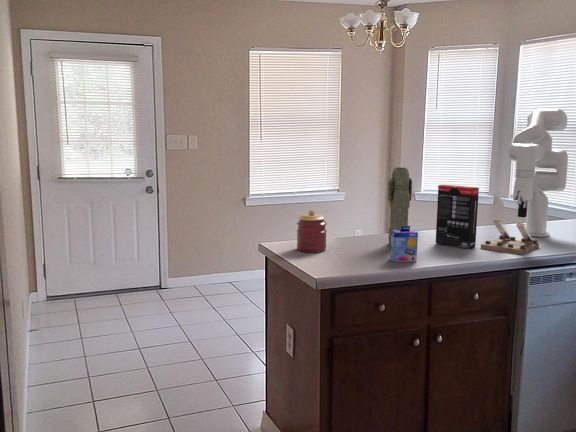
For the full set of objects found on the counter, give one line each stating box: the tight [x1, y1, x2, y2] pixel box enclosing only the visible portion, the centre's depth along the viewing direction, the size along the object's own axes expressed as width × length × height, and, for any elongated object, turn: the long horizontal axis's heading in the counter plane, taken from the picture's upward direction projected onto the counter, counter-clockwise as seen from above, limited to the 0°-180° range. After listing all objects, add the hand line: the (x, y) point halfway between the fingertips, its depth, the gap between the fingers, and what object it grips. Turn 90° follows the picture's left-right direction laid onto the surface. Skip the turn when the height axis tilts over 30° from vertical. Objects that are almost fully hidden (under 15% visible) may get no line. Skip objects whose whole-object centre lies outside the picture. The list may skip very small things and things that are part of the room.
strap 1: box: [493, 219, 512, 240], centre depth 254 cm, size 16×3×1 cm
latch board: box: [480, 234, 540, 256], centre depth 250 cm, size 20×18×4 cm
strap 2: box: [515, 222, 534, 243], centre depth 247 cm, size 16×3×1 cm
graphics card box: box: [435, 184, 480, 250], centre depth 253 cm, size 17×7×27 cm, turn 47°
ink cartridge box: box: [389, 225, 419, 263], centre depth 226 cm, size 10×6×14 cm, turn 95°
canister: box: [296, 209, 328, 253], centre depth 245 cm, size 13×13×18 cm
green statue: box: [387, 167, 413, 246], centre depth 254 cm, size 9×12×35 cm
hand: (522, 216), depth 242 cm, fingers closed
